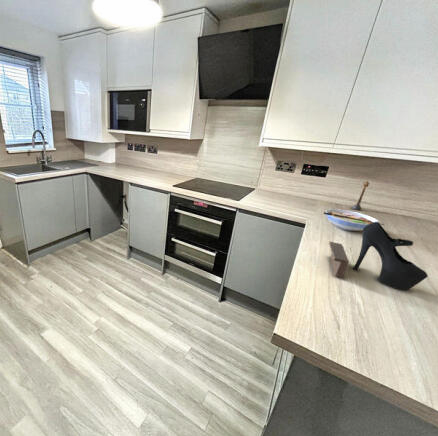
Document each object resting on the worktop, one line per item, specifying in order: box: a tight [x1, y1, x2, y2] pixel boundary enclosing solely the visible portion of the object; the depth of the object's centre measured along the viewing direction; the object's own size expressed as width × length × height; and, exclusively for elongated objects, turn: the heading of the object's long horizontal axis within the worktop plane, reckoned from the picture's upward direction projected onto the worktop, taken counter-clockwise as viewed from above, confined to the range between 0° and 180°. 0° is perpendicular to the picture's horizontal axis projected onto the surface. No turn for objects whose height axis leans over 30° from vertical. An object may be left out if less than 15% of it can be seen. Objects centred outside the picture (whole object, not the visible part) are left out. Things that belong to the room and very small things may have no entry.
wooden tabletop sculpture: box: [351, 180, 370, 211], centre depth 162 cm, size 6×5×20 cm
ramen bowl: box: [323, 208, 386, 232], centre depth 129 cm, size 25×23×8 cm
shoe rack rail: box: [328, 241, 350, 279], centre depth 90 cm, size 4×16×7 cm, turn 149°
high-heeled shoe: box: [352, 222, 428, 291], centre depth 81 cm, size 8×19×20 cm, turn 36°
